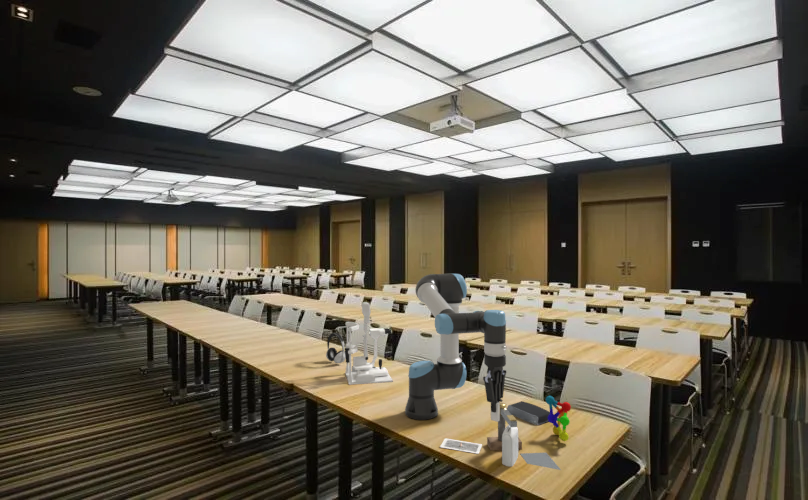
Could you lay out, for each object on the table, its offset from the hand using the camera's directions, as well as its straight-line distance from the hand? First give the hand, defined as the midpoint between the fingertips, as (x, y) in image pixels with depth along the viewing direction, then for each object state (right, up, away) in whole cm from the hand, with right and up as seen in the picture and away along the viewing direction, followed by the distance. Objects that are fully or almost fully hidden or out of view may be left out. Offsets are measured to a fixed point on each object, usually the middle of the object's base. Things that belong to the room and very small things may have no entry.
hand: (495, 420), depth 146 cm
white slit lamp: (-54, -16, +100) cm, 115 cm away
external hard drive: (+25, -16, +42) cm, 51 cm away
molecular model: (+31, -15, +19) cm, 39 cm away
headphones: (-79, -16, +134) cm, 156 cm away
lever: (+5, -2, +5) cm, 8 cm away
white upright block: (+6, -16, +1) cm, 17 cm away
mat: (+16, -15, -1) cm, 22 cm away
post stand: (+6, -15, +11) cm, 20 cm away
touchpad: (-11, -16, +12) cm, 22 cm away
